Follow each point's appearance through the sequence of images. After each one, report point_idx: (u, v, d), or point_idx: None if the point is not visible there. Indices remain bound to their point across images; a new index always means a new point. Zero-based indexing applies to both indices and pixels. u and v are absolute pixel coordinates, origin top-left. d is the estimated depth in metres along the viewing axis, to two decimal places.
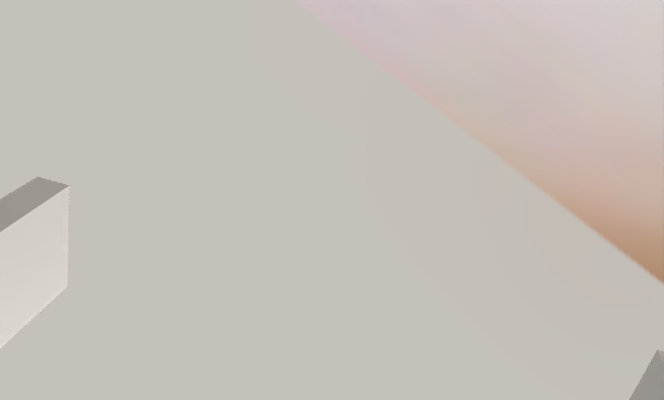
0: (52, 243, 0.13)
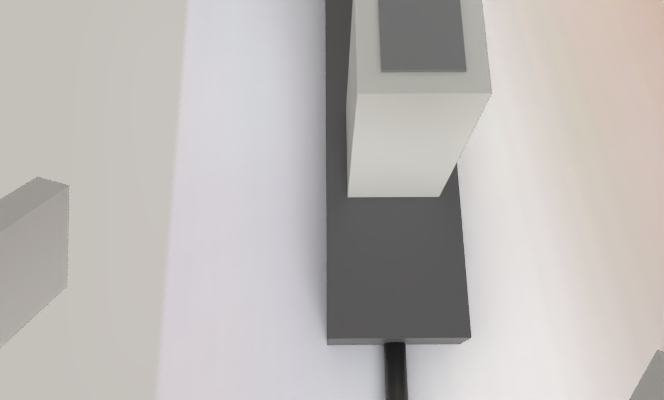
0: (52, 243, 0.13)
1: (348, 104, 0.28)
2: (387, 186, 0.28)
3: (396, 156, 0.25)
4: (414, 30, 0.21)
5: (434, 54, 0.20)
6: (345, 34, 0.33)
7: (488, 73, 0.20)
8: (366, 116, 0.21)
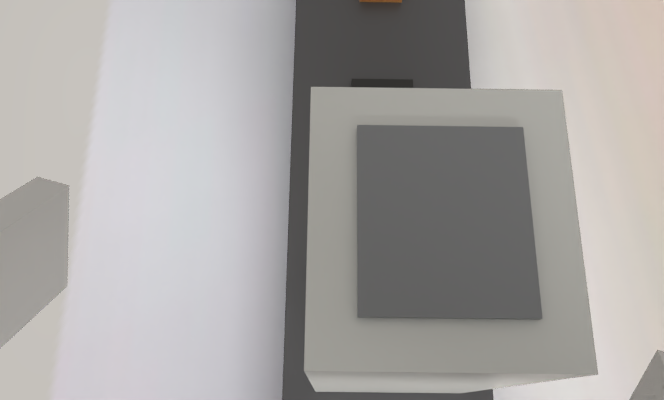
0: (52, 243, 0.13)
1: None
2: None
3: (391, 385, 0.14)
4: (430, 220, 0.10)
5: (472, 279, 0.09)
6: None
7: (588, 322, 0.09)
8: (329, 377, 0.11)
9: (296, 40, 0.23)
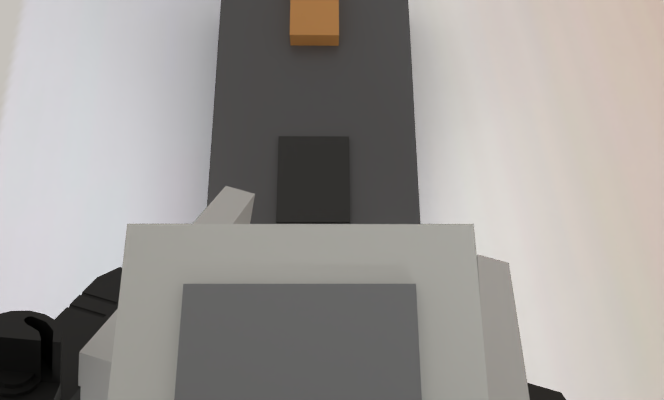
0: None
1: None
2: None
3: None
4: None
5: None
6: (242, 184, 0.19)
7: None
8: None
9: (216, 91, 0.20)
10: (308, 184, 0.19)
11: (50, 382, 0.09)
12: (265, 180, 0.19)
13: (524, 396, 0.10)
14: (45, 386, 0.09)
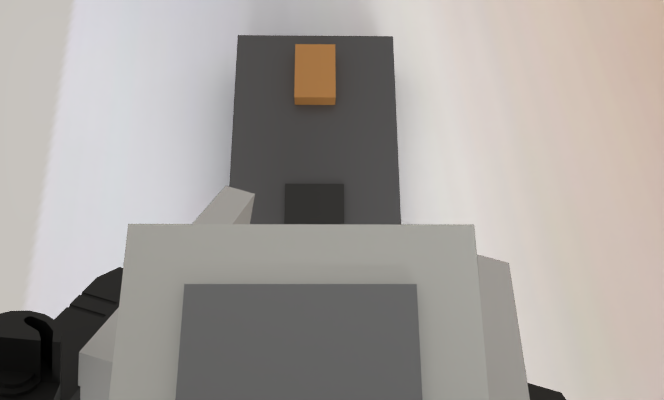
0: None
1: None
2: None
3: None
4: None
5: None
6: None
7: None
8: None
9: (233, 144, 0.24)
10: None
11: (50, 382, 0.09)
12: (274, 220, 0.23)
13: (524, 396, 0.10)
14: (45, 386, 0.09)
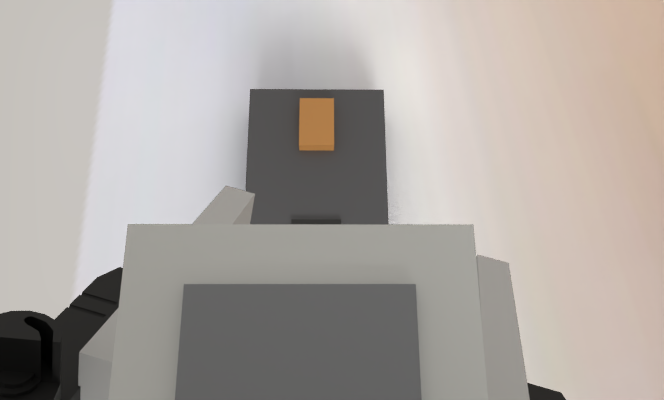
0: None
1: None
2: None
3: None
4: None
5: None
6: None
7: None
8: None
9: (247, 185, 0.28)
10: None
11: (50, 382, 0.09)
12: None
13: (524, 396, 0.10)
14: (45, 386, 0.09)
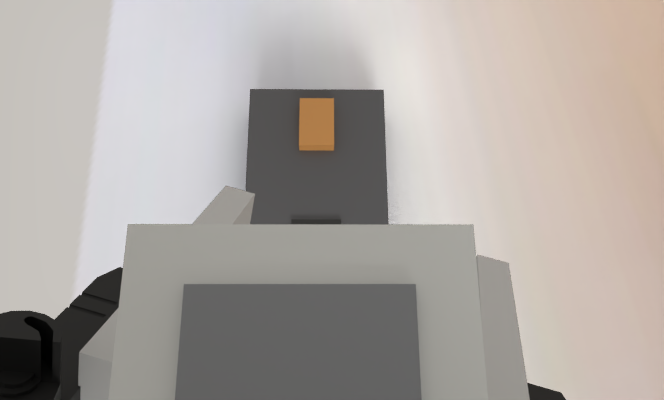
0: None
1: None
2: None
3: None
4: None
5: None
6: None
7: None
8: None
9: (247, 185, 0.28)
10: None
11: (50, 382, 0.09)
12: None
13: (524, 396, 0.10)
14: (45, 386, 0.09)
